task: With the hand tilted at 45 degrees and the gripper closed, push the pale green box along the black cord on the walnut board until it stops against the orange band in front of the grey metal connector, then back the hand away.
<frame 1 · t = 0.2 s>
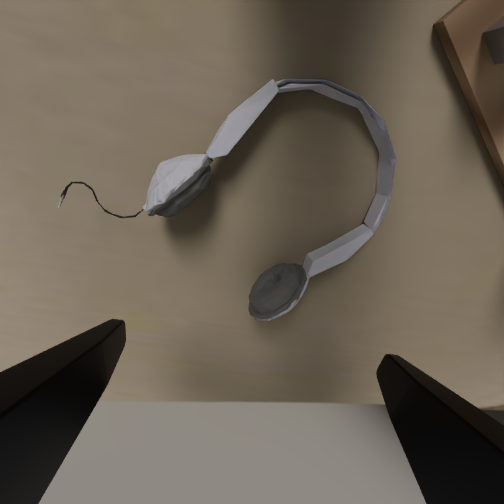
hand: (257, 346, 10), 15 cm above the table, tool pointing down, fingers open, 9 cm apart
headphones: (252, 192, 23), on the table
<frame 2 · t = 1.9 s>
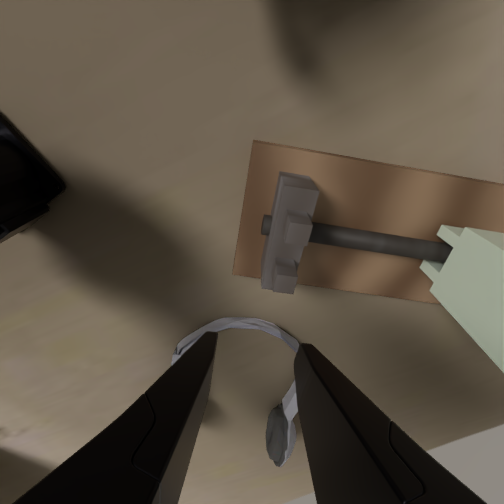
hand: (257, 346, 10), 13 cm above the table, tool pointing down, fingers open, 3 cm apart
cord board: (421, 239, 22), on the table
headphones: (222, 380, 31), on the table
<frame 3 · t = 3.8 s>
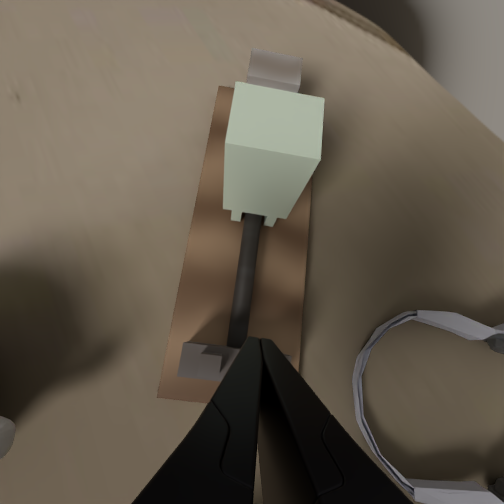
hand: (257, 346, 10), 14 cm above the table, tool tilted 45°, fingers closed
cord board: (250, 228, 25), on the table
headphones: (461, 420, 23), on the table
pale green box: (263, 170, 20), point 6 cm above the table, slide at 0.0 cm
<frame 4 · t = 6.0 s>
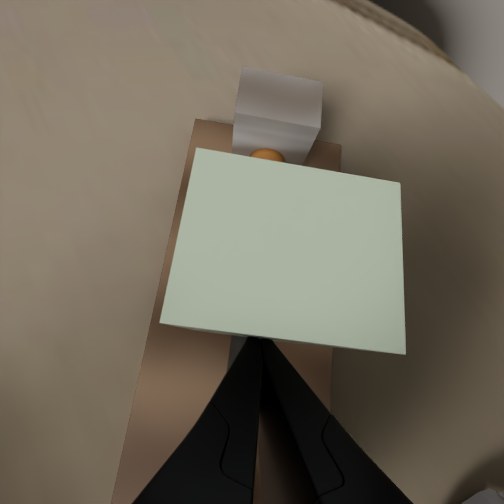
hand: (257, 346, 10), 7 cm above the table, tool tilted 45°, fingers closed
cord board: (240, 347, 16), on the table
pale green box: (261, 283, 11), point 6 cm above the table, slide at 0.6 cm
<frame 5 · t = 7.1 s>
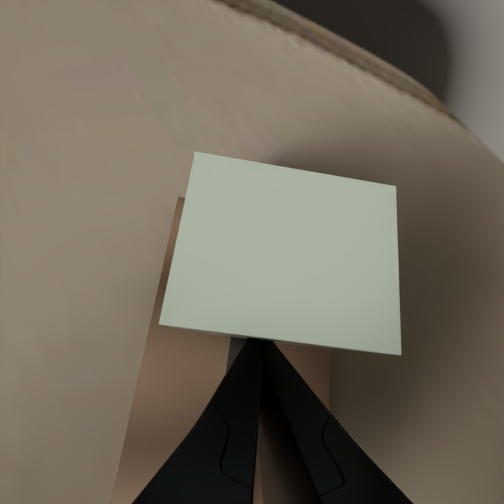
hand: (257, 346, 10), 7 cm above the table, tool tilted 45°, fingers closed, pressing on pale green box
cord board: (225, 465, 15), on the table
pale green box: (260, 285, 11), point 6 cm above the table, slide at 6.3 cm, touching gripper
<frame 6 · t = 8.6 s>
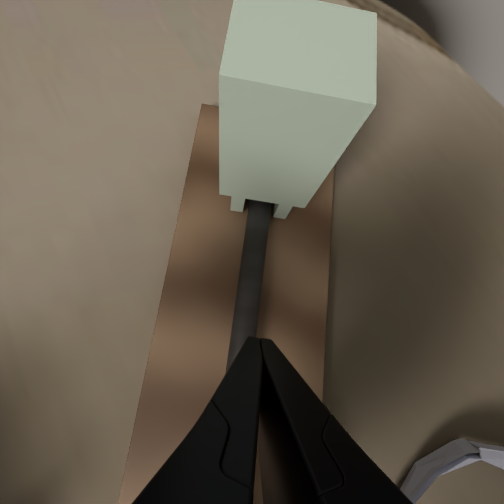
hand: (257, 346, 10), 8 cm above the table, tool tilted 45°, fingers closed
cord board: (244, 310, 18), on the table
pale green box: (275, 138, 14), point 6 cm above the table, slide at 6.0 cm
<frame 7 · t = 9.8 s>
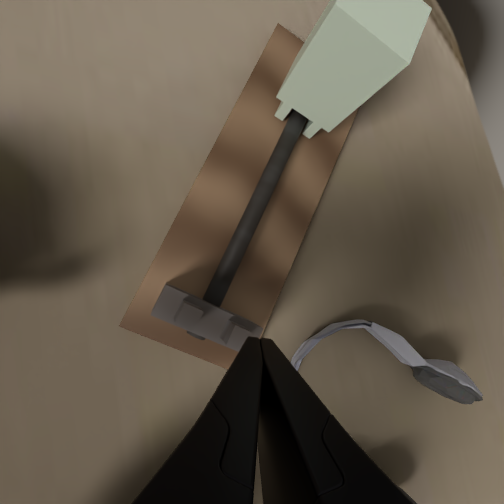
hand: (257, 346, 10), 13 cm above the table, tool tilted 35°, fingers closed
cord board: (258, 192, 24), on the table
headphones: (363, 421, 27), on the table
pale green box: (333, 69, 20), point 6 cm above the table, slide at 6.0 cm
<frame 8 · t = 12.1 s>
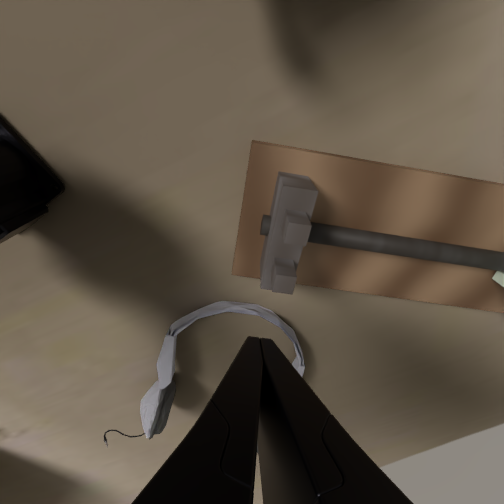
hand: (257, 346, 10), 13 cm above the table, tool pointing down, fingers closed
cord board: (420, 239, 22), on the table
headphones: (212, 367, 30), on the table
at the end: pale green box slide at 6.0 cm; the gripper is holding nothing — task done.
